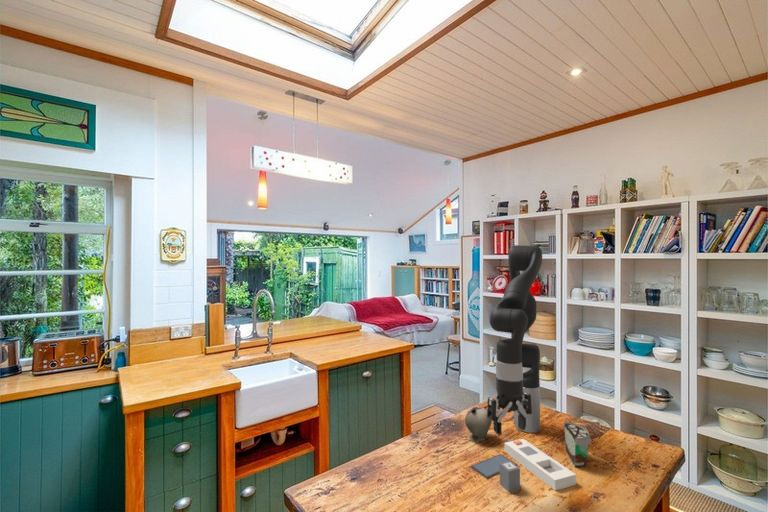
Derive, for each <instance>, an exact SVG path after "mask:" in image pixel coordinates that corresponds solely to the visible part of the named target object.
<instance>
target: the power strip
mask: <svg viewBox="0 0 768 512" xmlns="http://www.w3.org/2000/svg"><path fill="white" fill-rule="evenodd" d="M504 441H505V442H504V452H505V453H506V454H508V455H509V456H510V457H511V458H512V459H514V460H515V461H516V462H518V463H519V464H520V465H522V466H523V467H524V468H525V469H527V470H528V471H529V472H530V473H532V474H533V475H535V477H537V478H538V479H540V480H541V481H542V482H544V484H546V485H547V486H548V487H550V489H552V490H554V491H555V492H557V491H558V490H562V489H566V488H569V487H573V486H576V485H577V474H576V473H575V472H573V471H572V470H570V469H569V468H567V467H566V466H565V465H563V464H561V463H560V462H558V461H556V460H555V458H552V457H551V456H549V455H548V454H547V453H546V452H544V451H542V450H541V449H539V448H538V447H536V446H534V445H533V444H531V443H530V442H529V441H527V440H526V439H524V438H521V439H515V440H512V441H511V440H510V439H508V438H505V440H504Z"/></svg>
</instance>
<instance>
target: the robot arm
mask: <svg viewBox="0 0 768 512" xmlns="http://www.w3.org/2000/svg"><path fill="white" fill-rule="evenodd" d="M507 260H508V272H509V283H508V284H507V285H506V287H505V290H504V293H503V296H502V298H501V299H500V301H499V302H498V303H497V304H496V305H495V306H494V308H493V309H492V310H491V313H490V314H489V324H490V326H491V328H492V329H493V331H496V332H501V333H510V334H511V335H510V337H511V338H505V339H500V340H497V343H496V365H495V385H496V386H495V390H496V395H497V396H496V397H494V398H493V397H490V396H489V397H488V398H487V404H486V406H487V407H486V409H487V417H488V418H489V419H491V420H492V421H493V431H494V432H495V434H497V435H498V436H501V435H502V422H501V421H502V420H503V418H504V417H505V416H506V415H507V413H511V412H513V424H514V425H515V428H517V429H518V430H519V431H521V432H524V433H528V434H529V433H530V434H537V433H539V432H541V389H540V388H541V385H540V384H541V383H540V368H541V367H540V364H541V363H540V362H541V352H540V351H541V350H540V348H539V345H538V344H532V343H523V341H524V337H525V334H526V333H527V331H529V329H530V328H531V327H532V326H533V325H534V323H535V321H536V319H537V300H536V299H535V296H534V294H533V293H532V292H531V291H530V290H531V287H532V286H533V284H534V283H535V280H536V278H537V276H538V275H539V273H540V270H541V266H542V265H543V250H542V249H541V248H540V247H539V246H538V245H537V246H535V245H518V244H517V245H516V244H515V245H511V246H510V248H509V250H508V259H507ZM523 368H527V369H528V368H529V370H527V371H524V369H523Z"/></svg>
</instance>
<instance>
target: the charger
mask: <svg viewBox="0 0 768 512" xmlns="http://www.w3.org/2000/svg"><path fill="white" fill-rule="evenodd" d="M511 461H512V460H511ZM511 461H509V462H504V463H500V473H499V485H500V486H501V487H502V488H504V490H506V491H507V492H508V493H512V492H516V491H519V490H520V489H521V471H520V470H521V469H520V467H518V465H517V466H516V465H515V464H514V463H512V462H511Z"/></svg>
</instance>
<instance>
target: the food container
mask: <svg viewBox="0 0 768 512" xmlns="http://www.w3.org/2000/svg"><path fill="white" fill-rule="evenodd" d="M563 427H564V443H565V446H564V449H565V453H566V455H567V456H568V458H569V460H570V462H571V463H572V465H573V467H574V468H576V469H579V468H580V469H581V468H585V467H587V465H588V460H589V459H588V456H589V444H590V443H591V442H592V438H591V434H590V433H589V430H588V429H587V428H586V427H584V426H582V425H580V424H577V423H574V422H571V421H570V422H568V421H564V422H563Z"/></svg>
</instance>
